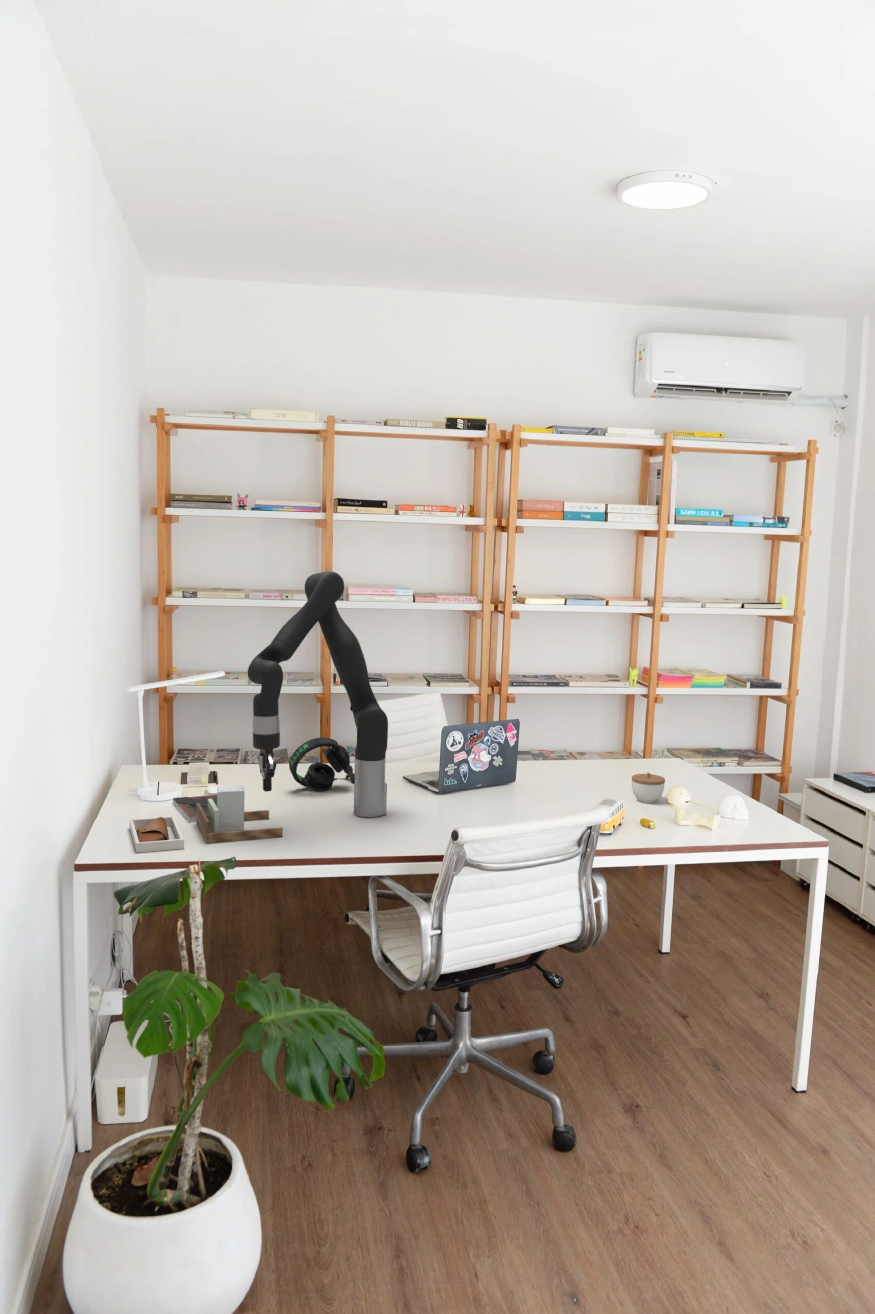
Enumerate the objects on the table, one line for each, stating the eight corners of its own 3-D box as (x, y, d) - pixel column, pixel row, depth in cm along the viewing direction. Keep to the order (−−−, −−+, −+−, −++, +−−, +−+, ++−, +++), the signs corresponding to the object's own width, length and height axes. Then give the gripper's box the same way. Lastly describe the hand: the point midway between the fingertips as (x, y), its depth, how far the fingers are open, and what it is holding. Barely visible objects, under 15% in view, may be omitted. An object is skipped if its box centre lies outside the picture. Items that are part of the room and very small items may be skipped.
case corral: (174, 824, 275) (174, 816, 275) (184, 848, 255) (184, 839, 254) (129, 828, 270) (129, 819, 270) (136, 852, 250) (136, 843, 250)
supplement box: (244, 835, 268) (244, 791, 266) (216, 836, 266) (217, 791, 264) (243, 827, 275) (243, 784, 273) (216, 828, 273) (217, 784, 272)
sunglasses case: (134, 829, 269) (146, 808, 270) (156, 840, 272) (169, 819, 272) (136, 849, 253) (149, 827, 253) (160, 861, 255) (173, 839, 255)
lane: (268, 818, 284) (268, 798, 284) (282, 836, 267) (282, 815, 267) (196, 823, 277) (196, 803, 276) (206, 843, 260) (206, 821, 259)
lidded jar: (636, 794, 325) (638, 767, 324) (667, 799, 320) (669, 772, 319) (625, 801, 316) (627, 773, 315) (657, 806, 311) (659, 778, 310)
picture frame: (172, 805, 296) (189, 825, 277) (172, 797, 296) (189, 816, 277) (225, 800, 304) (245, 819, 285) (225, 792, 304) (245, 811, 285)
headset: (346, 809, 326) (284, 781, 307) (332, 784, 336) (271, 755, 317) (381, 771, 323) (319, 741, 304) (366, 747, 333) (306, 716, 314)
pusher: (211, 825, 275) (212, 798, 274) (218, 838, 264) (218, 810, 263) (207, 826, 275) (207, 799, 274) (214, 838, 264) (214, 810, 263)
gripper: (285, 734, 266) (286, 795, 268) (273, 725, 278) (274, 783, 280) (258, 736, 263) (259, 797, 265) (247, 727, 275) (249, 786, 277)
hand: (267, 790), depth 273 cm, fingers closed
